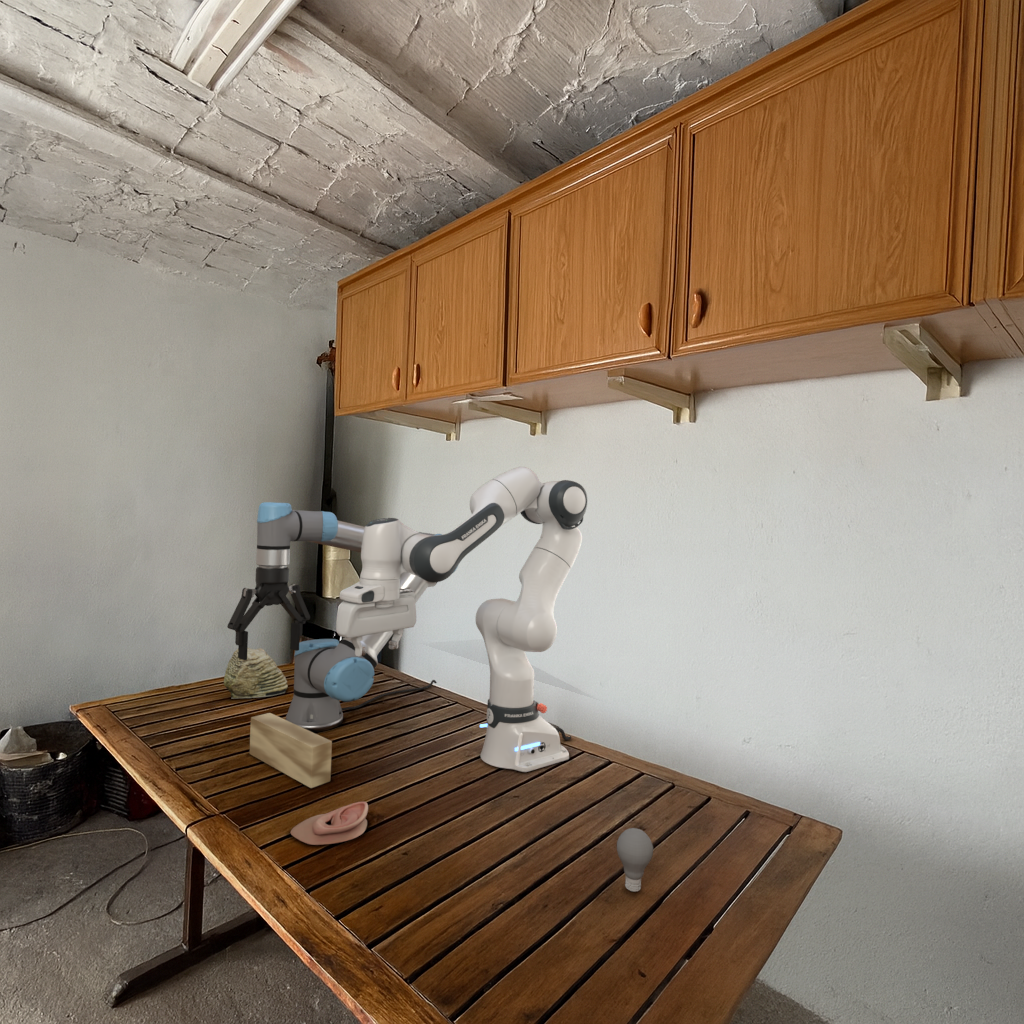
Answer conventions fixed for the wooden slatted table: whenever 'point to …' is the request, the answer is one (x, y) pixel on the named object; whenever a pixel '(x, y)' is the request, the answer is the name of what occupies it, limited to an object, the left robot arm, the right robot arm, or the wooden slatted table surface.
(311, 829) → the anatomical model
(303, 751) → the birch rail
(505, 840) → the wooden slatted table surface
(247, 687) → the fossil
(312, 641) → the left robot arm
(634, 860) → the light bulb
